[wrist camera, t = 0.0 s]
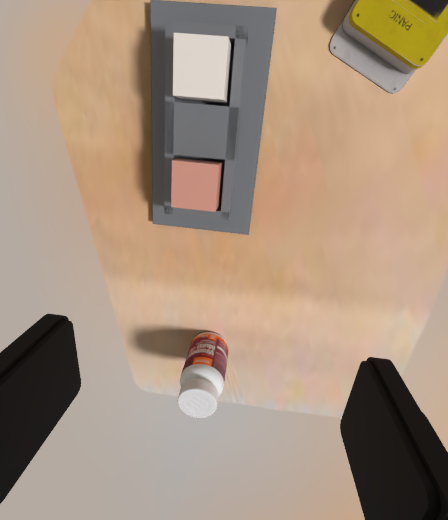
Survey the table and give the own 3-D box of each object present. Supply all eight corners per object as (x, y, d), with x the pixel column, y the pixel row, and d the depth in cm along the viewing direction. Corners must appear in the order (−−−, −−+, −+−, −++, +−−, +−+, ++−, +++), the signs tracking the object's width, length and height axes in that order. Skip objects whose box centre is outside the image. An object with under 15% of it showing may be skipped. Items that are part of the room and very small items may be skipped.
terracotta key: (179, 158, 34) (171, 160, 31) (222, 162, 34) (218, 164, 31) (178, 201, 36) (171, 207, 33) (218, 205, 36) (215, 211, 33)
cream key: (182, 42, 30) (173, 32, 27) (231, 46, 29) (228, 36, 26) (180, 99, 32) (172, 95, 29) (227, 103, 31) (223, 99, 28)
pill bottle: (217, 325, 47) (205, 379, 36) (235, 353, 48) (229, 413, 38) (184, 338, 48) (164, 394, 38) (203, 365, 50) (189, 425, 40)
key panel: (153, 3, 31) (137, -16, 27) (276, 11, 31) (278, -8, 27) (155, 221, 41) (143, 231, 37) (248, 232, 40) (247, 243, 36)
